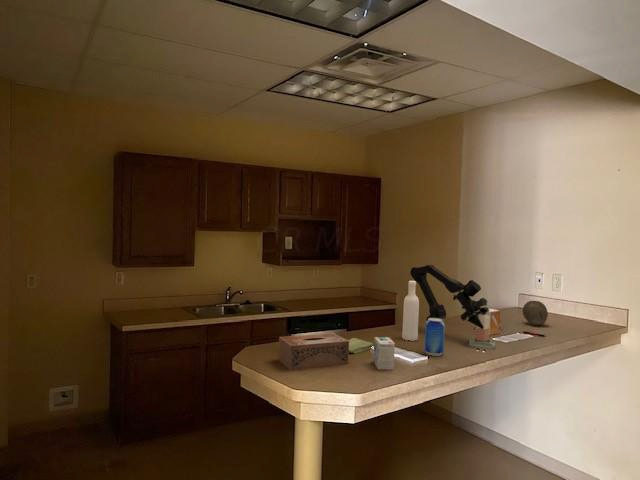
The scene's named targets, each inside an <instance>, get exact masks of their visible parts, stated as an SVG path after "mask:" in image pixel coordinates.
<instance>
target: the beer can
mask: <svg viewBox="0 0 640 480" xmlns="http://www.w3.org/2000/svg"><path fill="white" fill-rule="evenodd" d="M445 329H446V326H445V323H444V321H443V320H442V319H439V318H428V321H427V320H426V322H425V332H424V333H425V335H424V336H425V337H424V352H425V353H426V355H428V356H431V355H432V357H439V356H442V355H443V353H444V347H445Z"/></svg>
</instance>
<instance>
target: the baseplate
mask: <svg viewBox="0 0 640 480" xmlns="http://www.w3.org/2000/svg"><path fill="white" fill-rule="evenodd" d="M468 347H473V348H479V349H480V348H481V349H489V350H495V348H496V341H495V340H493V339H490V338H489V341H485V342H483V341H478V340H476V337H470V339H469V343H468Z"/></svg>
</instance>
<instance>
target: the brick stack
mask: <svg viewBox="0 0 640 480" xmlns="http://www.w3.org/2000/svg"><path fill="white" fill-rule="evenodd" d="M478 319H479V320H480V322H481V323H482V325H483V327H484V328H483V329H481V328H480V327H478V326H476V330H475V332H476V334H475V338H476V340H478V341H483V342H485V341H489V339H490V338H489V337H490V335H489V322H490V316H488V315H483V314H480V315H478Z"/></svg>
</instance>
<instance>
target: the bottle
mask: <svg viewBox="0 0 640 480" xmlns="http://www.w3.org/2000/svg"><path fill="white" fill-rule="evenodd" d="M407 285H408V289H407V290H408V293H407V295H406V296H405V297H404V300H403V312H402V313H403V315H402V333H401V336H402V338H401V339H402V340H404V339H405V341H408V340H410V341H409V342H415V340H416V341H418V338H419V337H418V336H419V312H420V309H419V308H420V300H419V297H418V296H417V294H416V287H417V282H416V281H415V280H409V281H408V284H407Z"/></svg>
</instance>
